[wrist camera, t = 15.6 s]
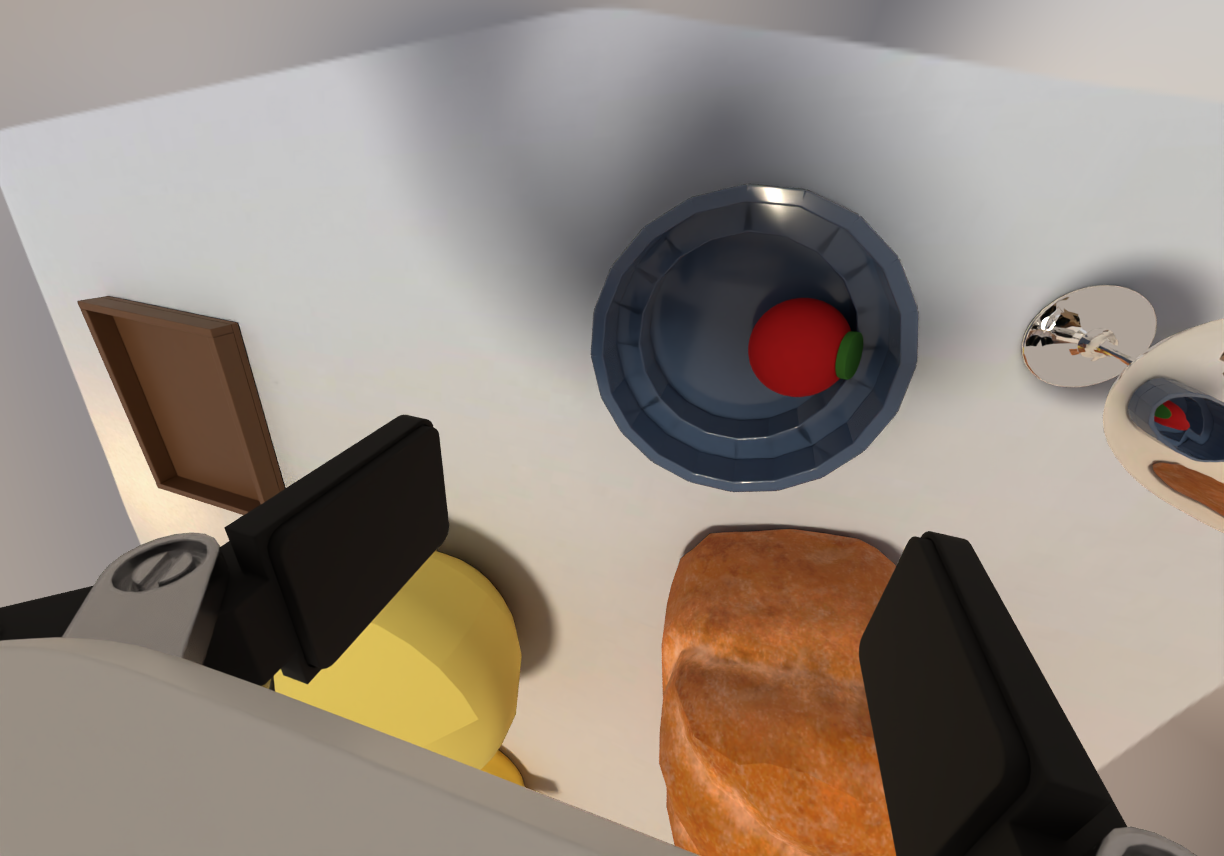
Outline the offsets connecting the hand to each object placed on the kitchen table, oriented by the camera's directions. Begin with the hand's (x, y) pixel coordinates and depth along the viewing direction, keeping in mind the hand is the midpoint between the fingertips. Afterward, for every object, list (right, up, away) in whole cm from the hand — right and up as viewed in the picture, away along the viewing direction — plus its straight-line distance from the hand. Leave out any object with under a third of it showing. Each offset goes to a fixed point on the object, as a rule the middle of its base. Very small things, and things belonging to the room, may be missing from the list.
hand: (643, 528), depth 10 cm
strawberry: (+6, +6, +13) cm, 16 cm away
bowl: (+6, +7, +15) cm, 18 cm away
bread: (+12, -16, +25) cm, 32 cm away
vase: (-14, -13, +32) cm, 37 cm away
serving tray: (-35, +4, +31) cm, 47 cm away
